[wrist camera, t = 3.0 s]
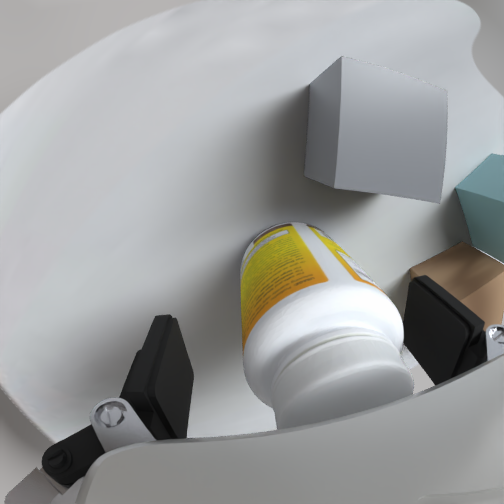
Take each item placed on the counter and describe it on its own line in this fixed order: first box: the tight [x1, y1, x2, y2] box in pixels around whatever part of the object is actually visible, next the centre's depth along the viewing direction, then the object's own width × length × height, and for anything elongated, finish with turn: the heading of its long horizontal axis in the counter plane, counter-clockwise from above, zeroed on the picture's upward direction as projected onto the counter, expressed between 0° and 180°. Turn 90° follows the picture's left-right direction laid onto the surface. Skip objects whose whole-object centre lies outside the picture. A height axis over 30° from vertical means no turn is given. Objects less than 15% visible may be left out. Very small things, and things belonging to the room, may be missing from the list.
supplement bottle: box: [240, 222, 414, 430], centre depth 11 cm, size 6×6×10 cm
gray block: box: [304, 56, 448, 204], centre depth 11 cm, size 5×5×5 cm
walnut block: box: [410, 241, 504, 332], centre depth 15 cm, size 5×5×5 cm
